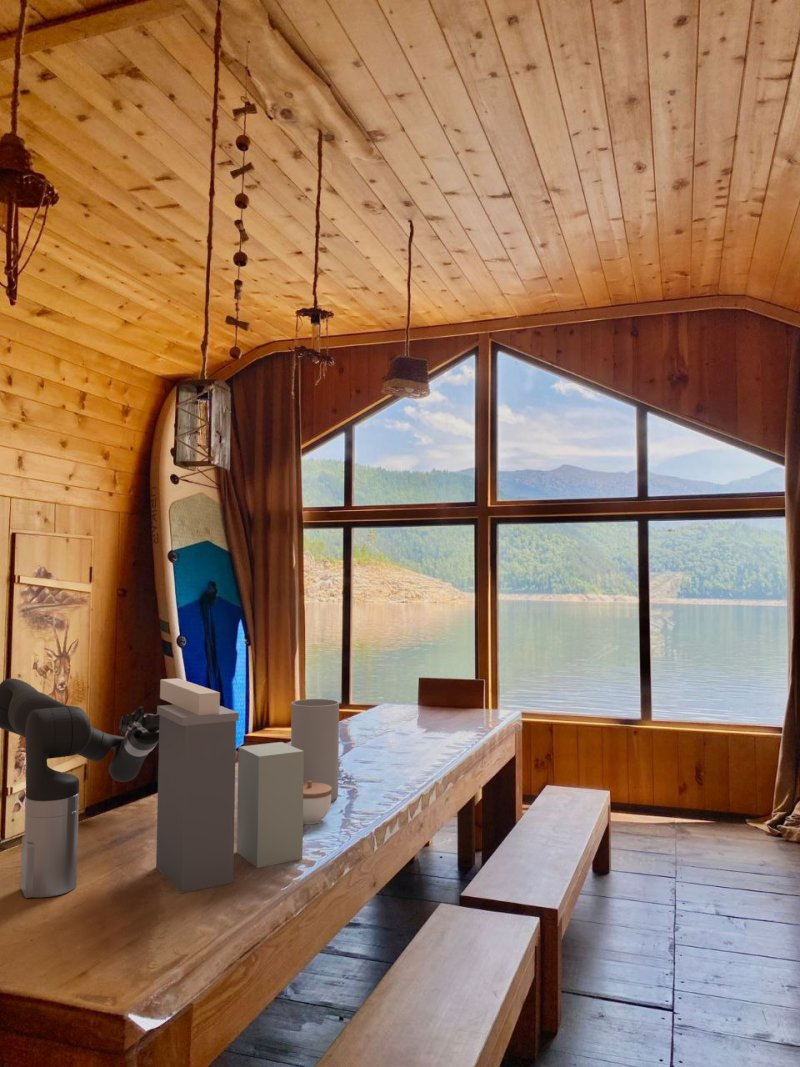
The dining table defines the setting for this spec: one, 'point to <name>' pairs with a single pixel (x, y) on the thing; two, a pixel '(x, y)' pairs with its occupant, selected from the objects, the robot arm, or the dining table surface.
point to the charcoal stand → (196, 797)
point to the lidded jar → (315, 802)
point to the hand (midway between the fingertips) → (161, 708)
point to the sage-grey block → (270, 803)
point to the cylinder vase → (317, 739)
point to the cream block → (190, 696)
